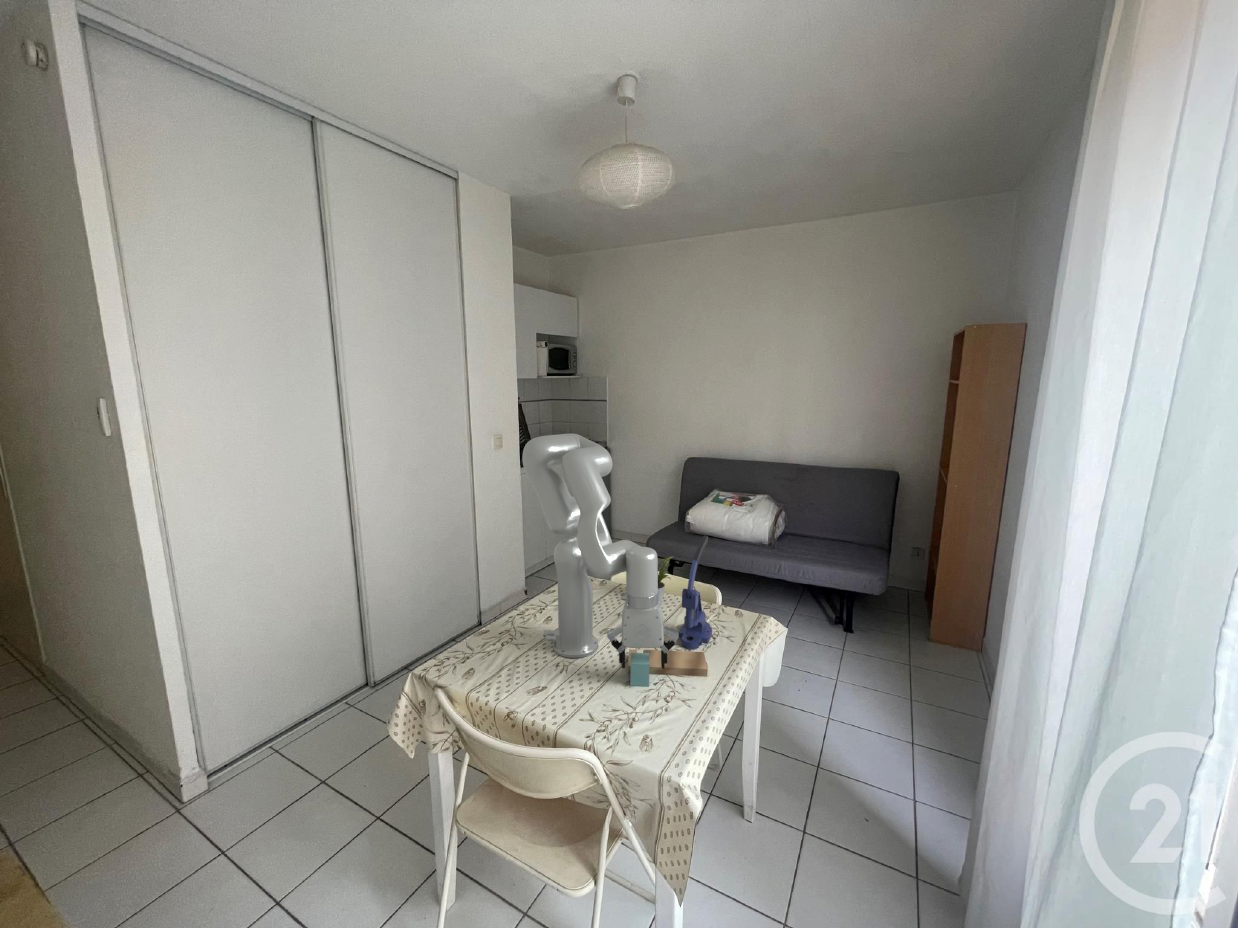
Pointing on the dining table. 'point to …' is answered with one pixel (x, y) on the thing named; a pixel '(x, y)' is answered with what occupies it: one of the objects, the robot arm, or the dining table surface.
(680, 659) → the board
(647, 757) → the dining table surface
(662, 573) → the house plant
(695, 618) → the hand press
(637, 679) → the gauge
